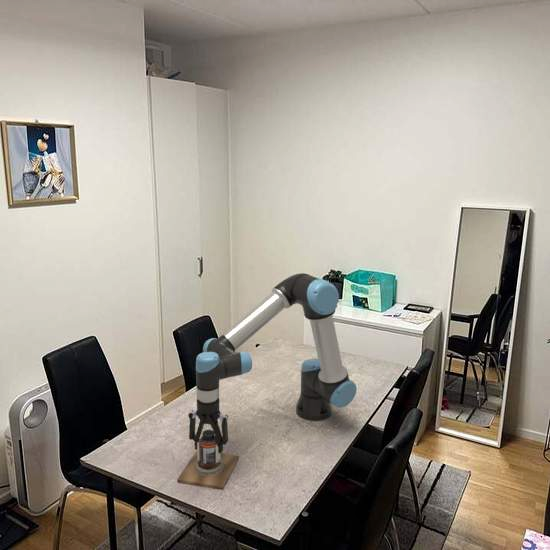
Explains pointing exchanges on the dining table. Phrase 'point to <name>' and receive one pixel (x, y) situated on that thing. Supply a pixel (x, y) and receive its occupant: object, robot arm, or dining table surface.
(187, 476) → the ring board
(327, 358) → the robot arm
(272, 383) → the dining table surface
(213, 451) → the supplement bottle
